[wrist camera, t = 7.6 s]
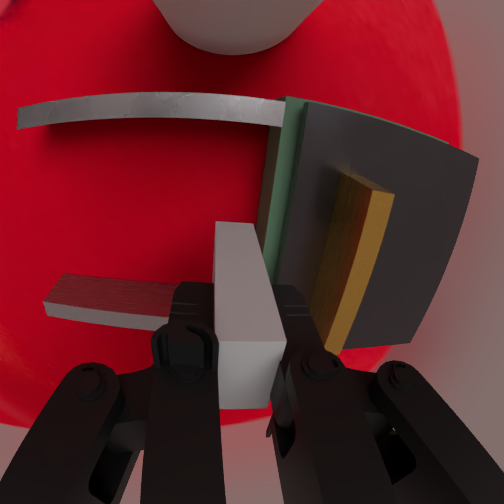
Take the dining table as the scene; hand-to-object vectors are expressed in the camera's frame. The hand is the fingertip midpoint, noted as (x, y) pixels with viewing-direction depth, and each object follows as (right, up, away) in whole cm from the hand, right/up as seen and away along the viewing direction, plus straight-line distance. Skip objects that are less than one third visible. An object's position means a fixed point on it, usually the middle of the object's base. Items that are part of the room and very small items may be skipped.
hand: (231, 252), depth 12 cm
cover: (+8, 0, +3) cm, 8 cm away
